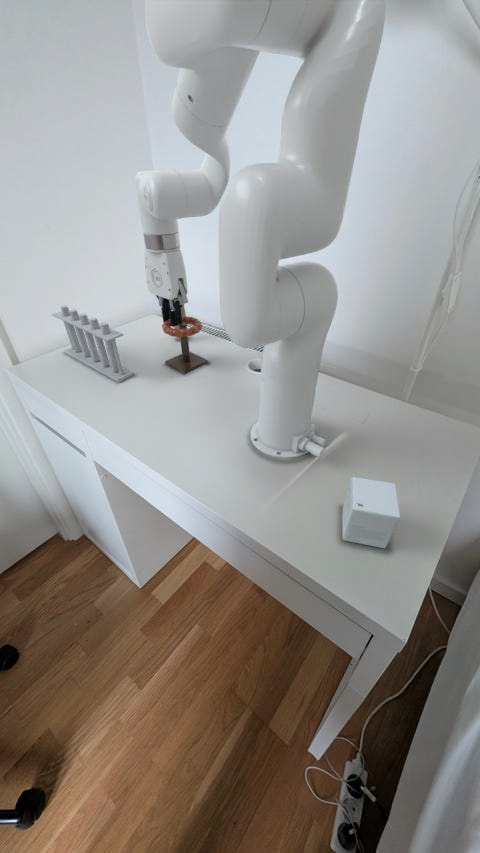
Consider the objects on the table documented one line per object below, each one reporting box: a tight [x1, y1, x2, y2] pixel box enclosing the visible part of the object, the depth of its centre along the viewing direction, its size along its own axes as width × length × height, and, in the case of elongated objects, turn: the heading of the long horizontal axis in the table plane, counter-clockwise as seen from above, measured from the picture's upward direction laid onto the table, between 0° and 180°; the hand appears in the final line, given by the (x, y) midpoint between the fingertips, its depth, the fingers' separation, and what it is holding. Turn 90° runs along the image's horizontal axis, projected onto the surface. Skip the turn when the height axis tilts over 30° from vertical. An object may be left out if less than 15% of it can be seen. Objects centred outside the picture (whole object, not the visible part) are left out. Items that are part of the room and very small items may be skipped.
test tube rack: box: [51, 305, 134, 383], centre depth 85 cm, size 25×4×13 cm, turn 51°
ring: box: [161, 315, 203, 338], centre depth 83 cm, size 10×10×2 cm
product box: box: [341, 476, 401, 549], centre depth 48 cm, size 6×6×7 cm
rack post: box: [164, 322, 209, 375], centre depth 86 cm, size 8×8×11 cm
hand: (172, 322), depth 85 cm, fingers closed on ring, 2 cm apart
